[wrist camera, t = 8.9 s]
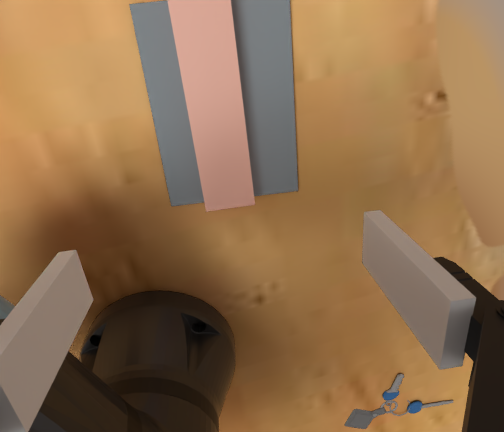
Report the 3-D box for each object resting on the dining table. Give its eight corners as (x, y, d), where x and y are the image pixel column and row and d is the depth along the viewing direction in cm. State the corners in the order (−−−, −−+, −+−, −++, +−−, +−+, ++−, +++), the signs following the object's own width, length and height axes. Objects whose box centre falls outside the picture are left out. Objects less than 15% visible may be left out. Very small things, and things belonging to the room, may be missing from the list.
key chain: (346, 431, 46) (348, 437, 46) (331, 389, 43) (334, 396, 42) (451, 399, 45) (454, 405, 45) (444, 354, 42) (449, 360, 41)
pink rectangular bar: (252, 195, 31) (255, 204, 29) (206, 202, 31) (206, 211, 29) (222, -60, 23) (222, -70, 21) (160, -53, 23) (155, -63, 21)
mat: (297, 189, 31) (298, 190, 31) (171, 204, 31) (171, 206, 30) (288, -11, 25) (289, -12, 25) (130, 4, 24) (129, 4, 24)
